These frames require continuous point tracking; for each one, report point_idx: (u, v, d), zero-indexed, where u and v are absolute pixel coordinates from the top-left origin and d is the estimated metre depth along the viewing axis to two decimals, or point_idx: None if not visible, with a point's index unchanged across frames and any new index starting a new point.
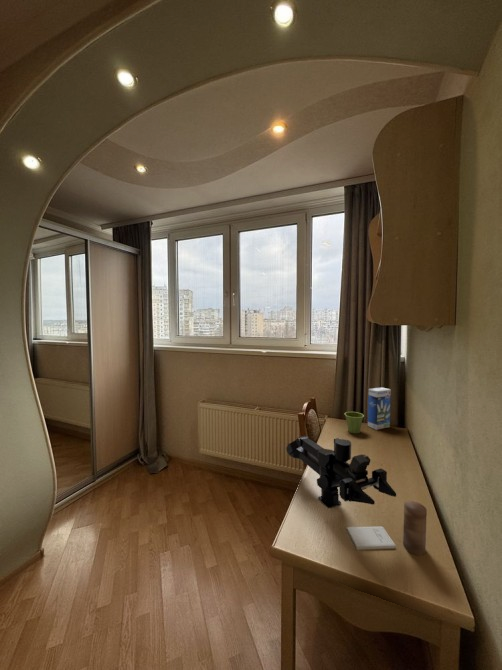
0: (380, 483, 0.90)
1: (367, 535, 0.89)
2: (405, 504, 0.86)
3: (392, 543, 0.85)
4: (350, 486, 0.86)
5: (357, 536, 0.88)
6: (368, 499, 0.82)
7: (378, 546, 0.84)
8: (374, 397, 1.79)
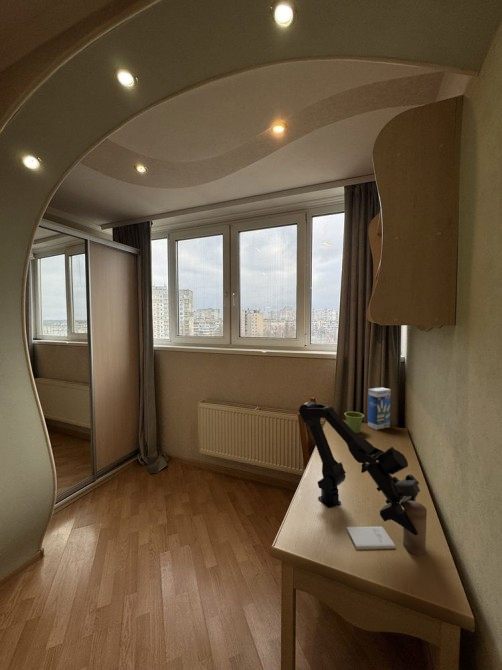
0: None
1: (367, 535, 0.89)
2: (405, 504, 0.86)
3: (392, 543, 0.85)
4: (401, 515, 0.81)
5: (357, 536, 0.88)
6: (412, 530, 0.82)
7: (377, 546, 0.84)
8: (374, 397, 1.79)
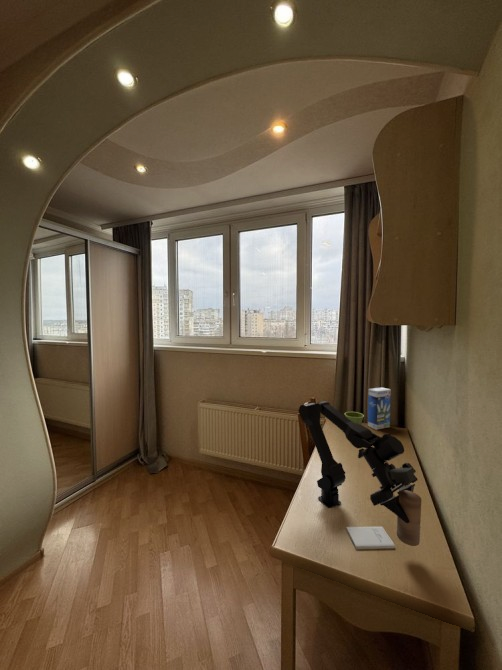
0: None
1: (366, 535, 0.89)
2: (399, 493, 0.83)
3: (391, 543, 0.85)
4: (392, 501, 0.79)
5: (356, 536, 0.88)
6: (404, 517, 0.79)
7: (377, 546, 0.84)
8: (374, 397, 1.79)
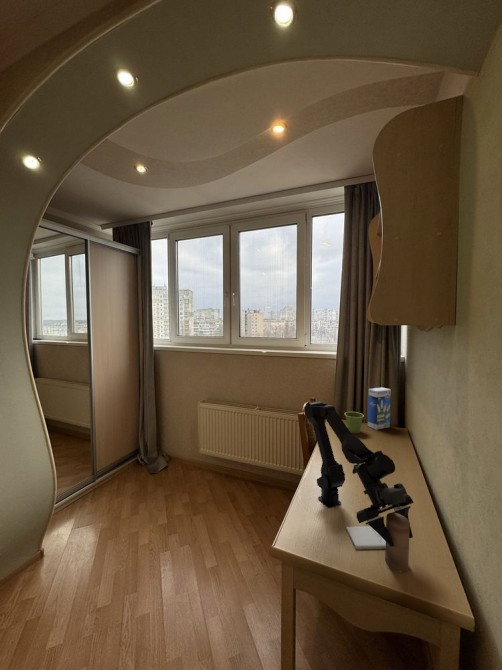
0: (399, 513, 0.83)
1: (366, 535, 0.89)
2: (388, 515, 0.81)
3: None
4: (375, 521, 0.78)
5: (356, 536, 0.88)
6: (388, 540, 0.77)
7: (377, 546, 0.85)
8: (374, 397, 1.79)
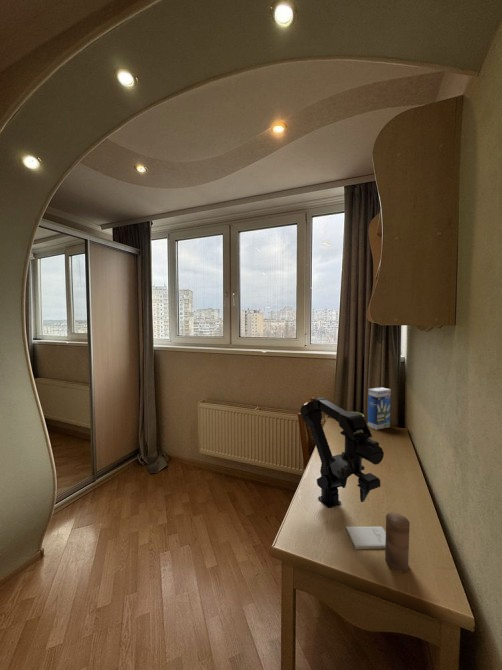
0: None
1: (366, 535, 0.89)
2: (388, 515, 0.81)
3: None
4: None
5: (356, 536, 0.88)
6: None
7: (376, 546, 0.85)
8: (374, 397, 1.79)
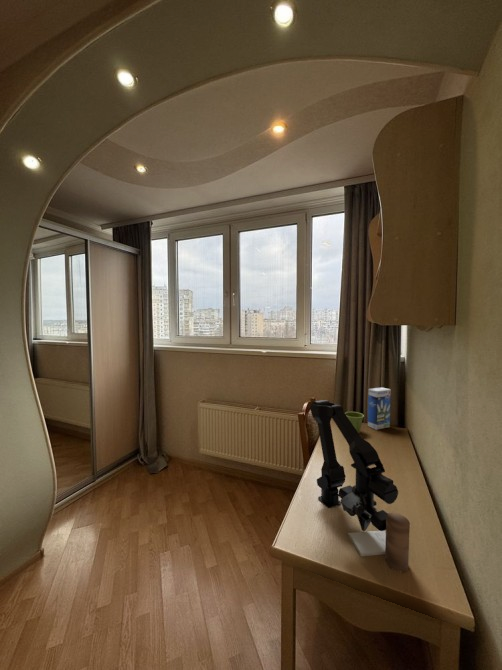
0: None
1: (370, 540, 0.86)
2: (388, 515, 0.81)
3: None
4: None
5: (360, 542, 0.86)
6: None
7: (382, 552, 0.82)
8: (374, 397, 1.79)
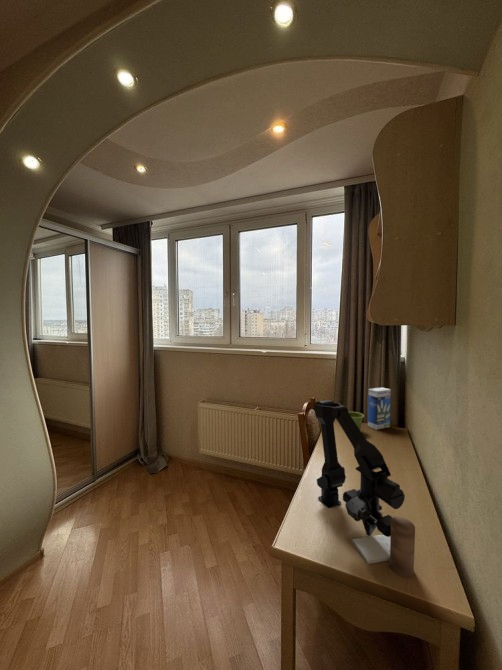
0: None
1: (374, 546, 0.84)
2: (392, 519, 0.79)
3: None
4: None
5: (365, 548, 0.83)
6: None
7: (388, 557, 0.80)
8: (374, 397, 1.79)
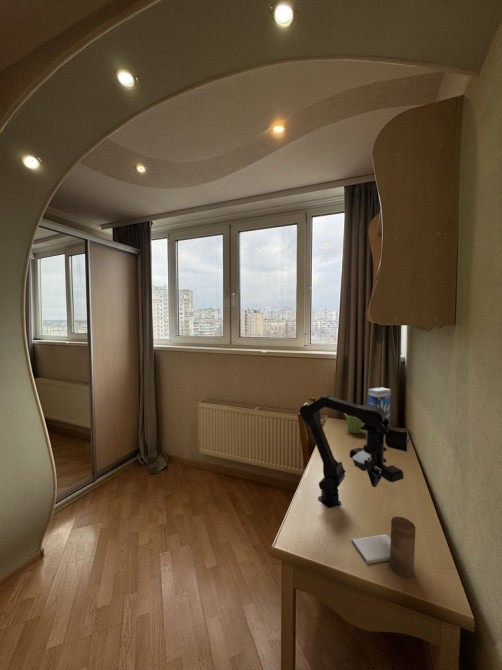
0: None
1: (374, 546, 0.84)
2: (393, 519, 0.79)
3: None
4: None
5: (365, 548, 0.83)
6: None
7: (387, 557, 0.80)
8: (374, 397, 1.79)
